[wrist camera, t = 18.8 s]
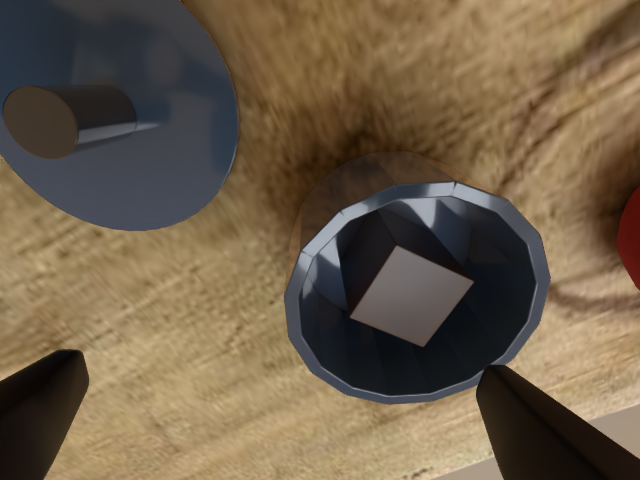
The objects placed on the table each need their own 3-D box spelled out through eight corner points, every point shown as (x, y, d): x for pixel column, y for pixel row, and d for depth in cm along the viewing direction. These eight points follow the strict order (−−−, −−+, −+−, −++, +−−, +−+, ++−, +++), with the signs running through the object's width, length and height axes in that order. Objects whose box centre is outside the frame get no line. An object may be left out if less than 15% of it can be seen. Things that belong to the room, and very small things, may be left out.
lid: (46, 230, 19) (-49, 282, 14) (-59, -28, 14) (-260, -90, 9) (256, 217, 19) (237, 264, 14) (221, -44, 14) (173, -114, 9)
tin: (299, 326, 22) (296, 411, 17) (283, 157, 18) (271, 191, 12) (466, 315, 22) (522, 396, 17) (491, 144, 18) (579, 173, 12)
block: (338, 262, 20) (348, 318, 15) (373, 204, 19) (396, 244, 14) (397, 288, 21) (423, 348, 16) (434, 233, 20) (475, 281, 15)
